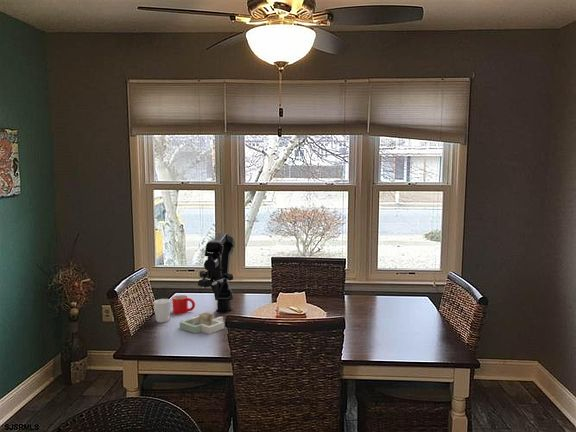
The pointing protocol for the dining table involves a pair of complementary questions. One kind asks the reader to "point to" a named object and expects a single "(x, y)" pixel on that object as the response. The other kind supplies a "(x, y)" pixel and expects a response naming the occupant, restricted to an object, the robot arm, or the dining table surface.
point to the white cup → (162, 310)
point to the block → (206, 318)
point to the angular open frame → (202, 325)
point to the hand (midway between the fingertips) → (216, 296)
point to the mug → (182, 304)
